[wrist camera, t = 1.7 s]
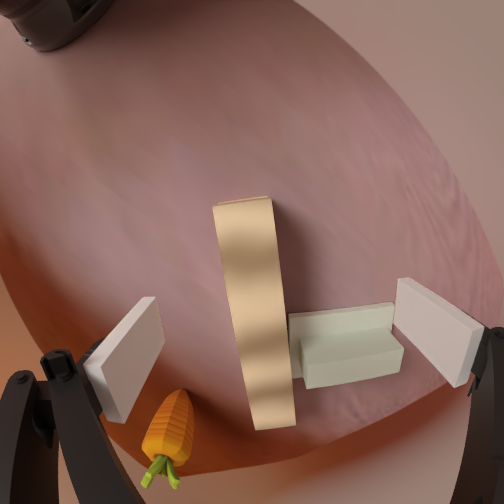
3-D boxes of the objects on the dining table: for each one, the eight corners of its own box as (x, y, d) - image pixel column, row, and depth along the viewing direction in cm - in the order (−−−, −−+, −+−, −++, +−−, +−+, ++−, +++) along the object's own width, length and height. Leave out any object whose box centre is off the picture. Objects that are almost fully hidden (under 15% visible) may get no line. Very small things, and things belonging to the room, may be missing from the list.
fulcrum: (288, 313, 29) (297, 343, 23) (391, 301, 29) (416, 324, 23) (288, 373, 31) (295, 407, 25) (382, 359, 31) (402, 387, 25)
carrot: (203, 378, 31) (182, 481, 16) (202, 406, 32) (185, 502, 18) (162, 371, 31) (124, 467, 16) (164, 399, 32) (134, 491, 17)
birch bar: (219, 202, 27) (212, 206, 21) (266, 195, 27) (271, 198, 21) (254, 399, 32) (255, 430, 27) (290, 394, 32) (295, 425, 27)
